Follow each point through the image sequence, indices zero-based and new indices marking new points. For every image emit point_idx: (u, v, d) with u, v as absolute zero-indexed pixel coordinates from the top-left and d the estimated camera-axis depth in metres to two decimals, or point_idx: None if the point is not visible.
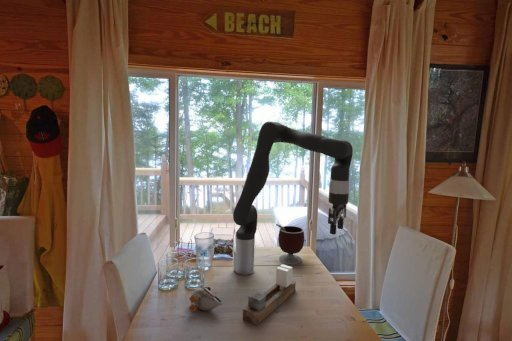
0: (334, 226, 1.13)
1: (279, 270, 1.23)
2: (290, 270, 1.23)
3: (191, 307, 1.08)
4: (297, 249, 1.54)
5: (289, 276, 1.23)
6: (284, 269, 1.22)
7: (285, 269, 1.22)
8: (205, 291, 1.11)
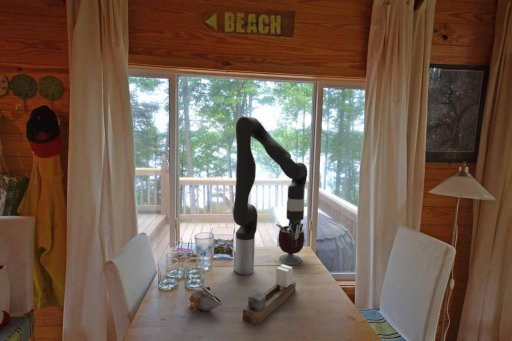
0: (294, 240, 1.28)
1: (279, 270, 1.23)
2: (290, 270, 1.23)
3: (191, 307, 1.08)
4: (297, 249, 1.54)
5: (289, 276, 1.23)
6: (284, 269, 1.22)
7: (285, 269, 1.22)
8: (205, 291, 1.11)
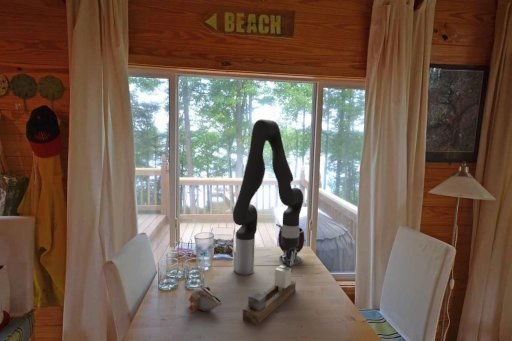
0: (289, 267, 1.26)
1: (278, 271, 1.22)
2: (289, 271, 1.22)
3: (190, 307, 1.08)
4: None
5: (287, 277, 1.22)
6: (283, 270, 1.21)
7: (284, 270, 1.21)
8: (204, 291, 1.11)
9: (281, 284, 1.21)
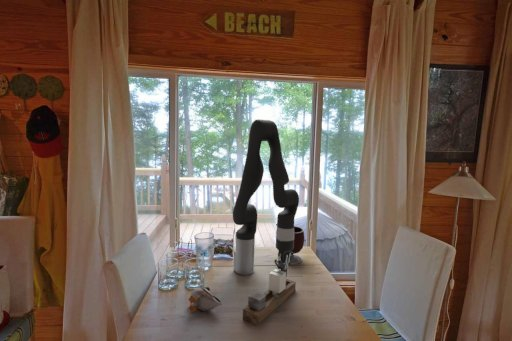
0: (284, 270, 1.22)
1: (272, 275, 1.18)
2: (283, 275, 1.18)
3: (190, 307, 1.08)
4: (297, 249, 1.54)
5: (282, 281, 1.18)
6: (277, 274, 1.18)
7: (278, 274, 1.18)
8: (204, 291, 1.11)
9: (275, 289, 1.17)
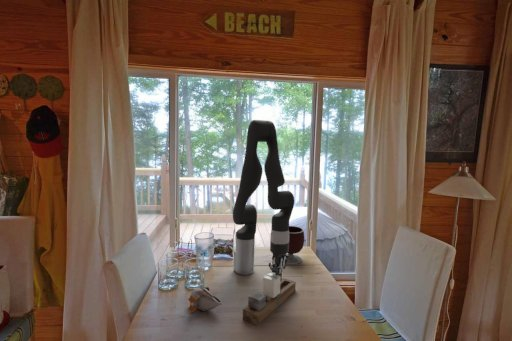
0: (278, 274, 1.19)
1: (266, 279, 1.14)
2: (278, 279, 1.15)
3: (190, 307, 1.08)
4: (297, 249, 1.54)
5: (276, 286, 1.14)
6: (271, 278, 1.14)
7: (272, 278, 1.14)
8: (204, 291, 1.11)
9: (269, 293, 1.14)
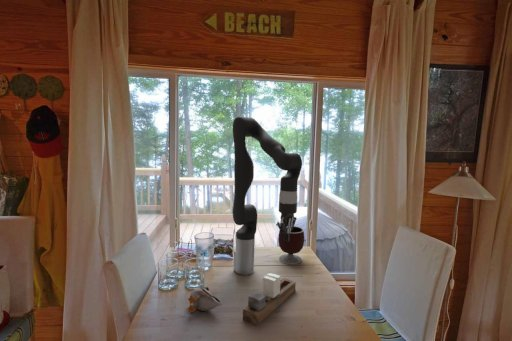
0: (286, 234, 1.22)
1: (266, 279, 1.14)
2: (278, 279, 1.15)
3: (190, 308, 1.08)
4: (297, 249, 1.54)
5: (276, 286, 1.14)
6: (271, 278, 1.14)
7: (272, 278, 1.14)
8: (204, 291, 1.10)
9: (269, 293, 1.14)
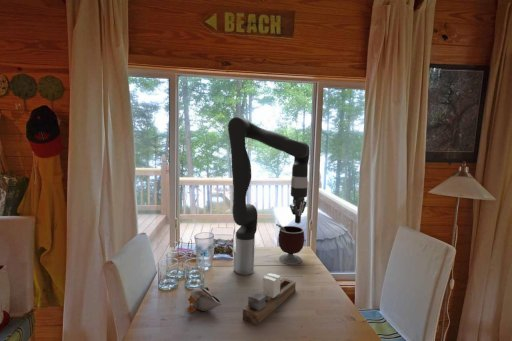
0: (298, 216, 1.34)
1: (266, 279, 1.14)
2: (278, 279, 1.15)
3: (190, 308, 1.08)
4: (297, 249, 1.54)
5: (276, 286, 1.14)
6: (271, 278, 1.14)
7: (272, 278, 1.14)
8: (204, 291, 1.10)
9: (269, 293, 1.14)
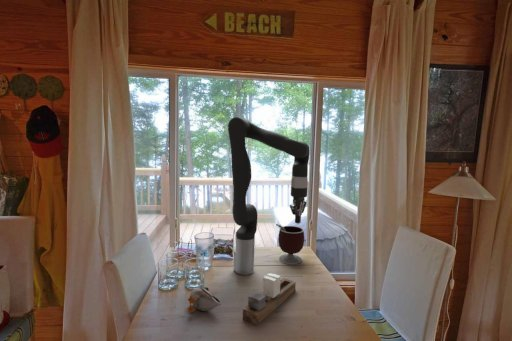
0: (298, 216, 1.34)
1: (266, 279, 1.14)
2: (278, 279, 1.15)
3: (190, 308, 1.08)
4: (297, 249, 1.54)
5: (276, 286, 1.14)
6: (271, 278, 1.14)
7: (272, 278, 1.14)
8: (203, 291, 1.10)
9: (269, 293, 1.14)
